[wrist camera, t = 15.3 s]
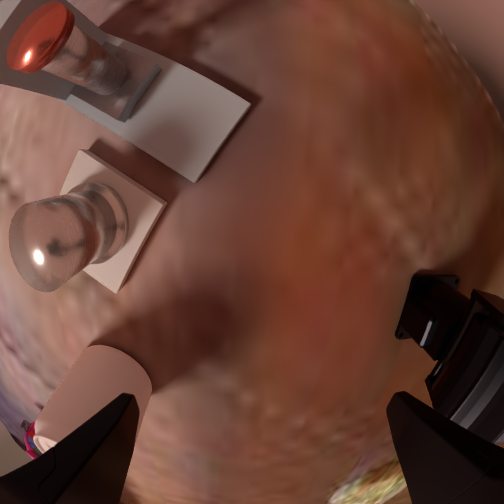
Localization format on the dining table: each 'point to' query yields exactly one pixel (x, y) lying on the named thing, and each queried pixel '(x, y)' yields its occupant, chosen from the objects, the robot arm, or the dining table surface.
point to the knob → (67, 234)
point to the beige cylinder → (90, 392)
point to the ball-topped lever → (81, 61)
